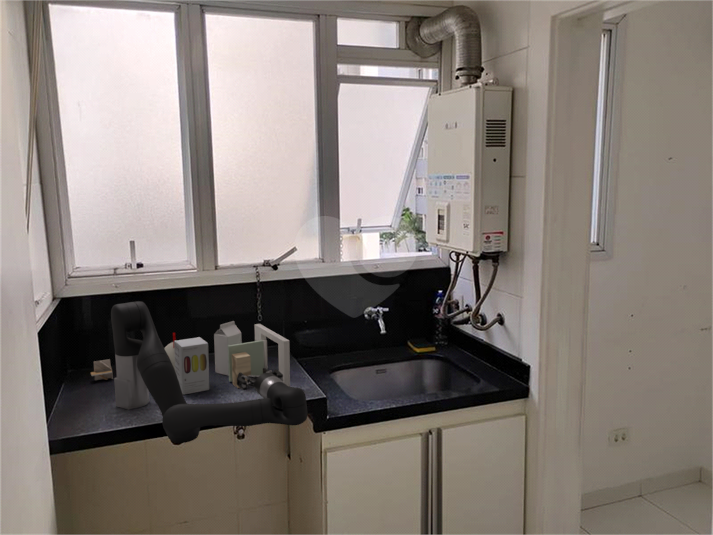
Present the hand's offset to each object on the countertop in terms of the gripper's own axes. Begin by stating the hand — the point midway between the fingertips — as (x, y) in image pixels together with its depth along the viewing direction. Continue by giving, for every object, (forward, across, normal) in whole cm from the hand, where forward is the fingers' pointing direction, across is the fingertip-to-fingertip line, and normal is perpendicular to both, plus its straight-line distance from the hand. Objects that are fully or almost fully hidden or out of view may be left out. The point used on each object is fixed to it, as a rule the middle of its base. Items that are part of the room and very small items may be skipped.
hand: (251, 373), depth 190 cm
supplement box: (+16, -16, -8) cm, 24 cm away
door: (+15, +4, -7) cm, 17 cm away
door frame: (+9, +11, -7) cm, 16 cm away
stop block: (+10, 0, -8) cm, 13 cm away
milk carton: (+26, +1, -8) cm, 27 cm away
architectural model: (+42, -40, -8) cm, 59 cm away
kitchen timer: (+35, -16, -8) cm, 40 cm away
